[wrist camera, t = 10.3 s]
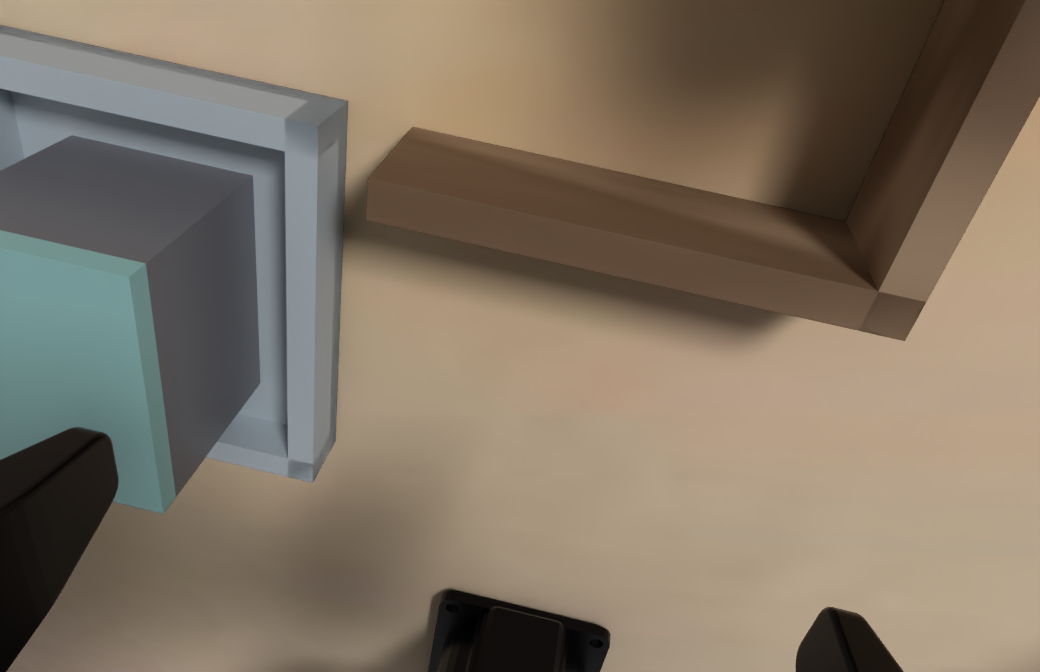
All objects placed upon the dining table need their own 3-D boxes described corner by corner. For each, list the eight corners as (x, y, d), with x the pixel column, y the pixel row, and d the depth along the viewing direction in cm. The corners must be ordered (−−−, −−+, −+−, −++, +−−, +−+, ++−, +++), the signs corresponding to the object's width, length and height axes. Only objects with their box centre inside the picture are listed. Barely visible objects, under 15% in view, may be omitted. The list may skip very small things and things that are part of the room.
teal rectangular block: (260, 383, 24) (163, 513, 19) (108, 347, 24) (-25, 468, 19) (253, 175, 20) (128, 277, 15) (71, 135, 20) (-105, 223, 16)
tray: (335, 441, 26) (312, 482, 24) (63, 376, 26) (22, 413, 24) (348, 100, 19) (318, 125, 17) (-15, 21, 19) (-78, 38, 18)
